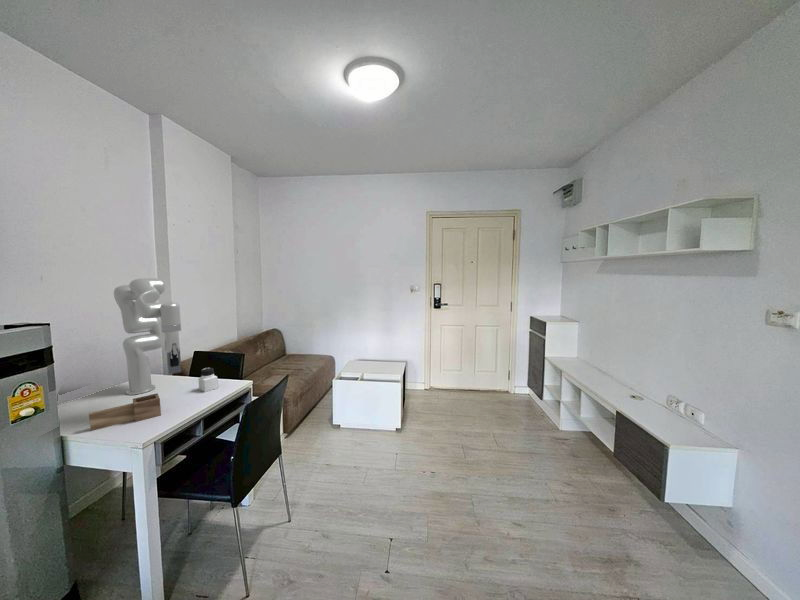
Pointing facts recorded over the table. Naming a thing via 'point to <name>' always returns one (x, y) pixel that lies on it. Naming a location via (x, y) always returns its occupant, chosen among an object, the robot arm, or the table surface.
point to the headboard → (126, 412)
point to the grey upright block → (175, 368)
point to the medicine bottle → (208, 380)
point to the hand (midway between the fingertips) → (174, 364)
